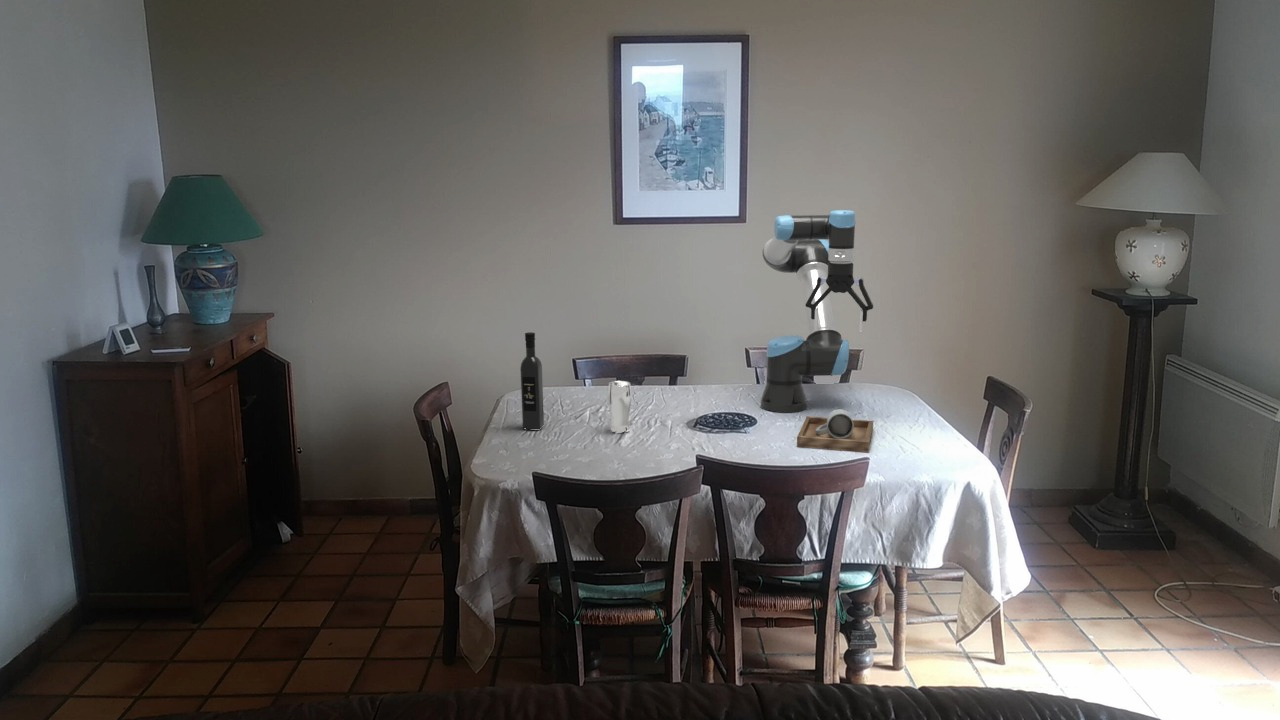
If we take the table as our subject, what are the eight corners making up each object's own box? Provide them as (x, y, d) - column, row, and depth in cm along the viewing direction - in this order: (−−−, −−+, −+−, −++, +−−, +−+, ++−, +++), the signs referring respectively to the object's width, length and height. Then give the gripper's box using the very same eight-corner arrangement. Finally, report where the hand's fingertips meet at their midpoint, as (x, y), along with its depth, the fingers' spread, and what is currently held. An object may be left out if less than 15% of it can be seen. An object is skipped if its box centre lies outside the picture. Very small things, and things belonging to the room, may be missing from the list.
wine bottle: (539, 431, 287) (536, 335, 280) (521, 430, 288) (517, 334, 281) (545, 425, 292) (541, 331, 286) (527, 425, 293) (523, 331, 287)
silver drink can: (635, 429, 288) (634, 381, 285) (625, 435, 282) (624, 387, 278) (615, 426, 291) (614, 379, 287) (605, 432, 285) (604, 384, 281)
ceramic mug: (851, 431, 279) (852, 406, 278) (853, 439, 272) (854, 413, 270) (815, 430, 281) (815, 406, 279) (816, 438, 273) (816, 413, 271)
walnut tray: (796, 446, 269) (797, 436, 268) (806, 425, 289) (806, 416, 289) (868, 452, 263) (868, 442, 262) (872, 430, 284) (873, 420, 283)
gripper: (797, 262, 284) (795, 331, 288) (882, 264, 276) (879, 334, 281) (801, 259, 291) (799, 326, 295) (883, 261, 283) (880, 330, 288)
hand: (838, 330), depth 288 cm, fingers open, 13 cm apart
